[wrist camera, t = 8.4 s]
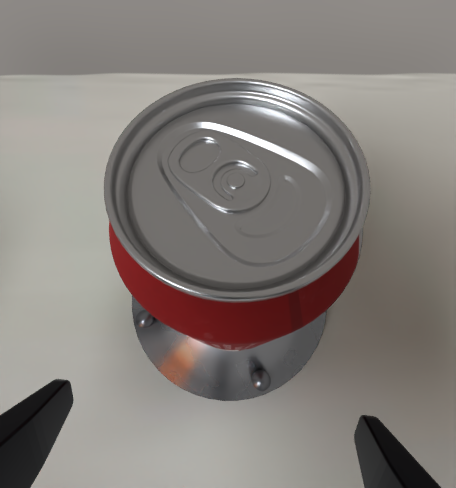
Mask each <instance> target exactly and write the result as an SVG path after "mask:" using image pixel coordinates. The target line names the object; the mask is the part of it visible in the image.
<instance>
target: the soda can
mask: <svg viewBox="0 0 456 488" xmlns="http://www.w3.org/2000/svg"><path fill="white" fill-rule="evenodd" d="M104 200H105V205H106V211H107V214H108V217H109V237H110V245H111V251H112V255H113V259H114V262H115V265H116V267H117V270H118V272H119V275H120V277H121V278H122V280H123V282H124V284H125V285H126V287H127V288H128V290H129V291H130V293H131V294H132V295H133V297H134V298H135V299H136V300H137V301H138V302H139V303H140V305H141V306H142V307H143V308H144V309H146V310H147V311H148V312H149V313H150V314H151V315H152V316H154V317H155V318H156V319H158V320H159V321H161V322H162V323H164V324H165V325H167V326H169V327H171V328H172V329H174V330H176V331H178V332H180V333H182V334H184V335H187V336H189V337H191V338H193V339H195V340H197V341H199V342H202V343H204V344H206V345H208V346H210V347H213V348H216V349H219V350H224V351H243V350H248V349H251V348H254V347H257V346H259V345H262V344H264V343H267V342H270V341H272V340H275V339H277V338H280V337H283V336H285V335H288V334H290V333H292V332H294V331H296V330H298V329H300V328H302V327H304V326H306V325H307V324H309V323H310V322H312V321H314V320H315V319H316V318H317V317H319V316H320V315H321V314H323V313H324V312H325V311H326V310H327V309H328V308H329V307H330V306H331V305H332V304H333V303H334V302H335V301H336V300H337V298H338V297H339V296H340V295H341V293H342V292H343V291H344V289H345V287H346V286H347V284H348V283H349V281H350V279H351V277H352V275H353V273H354V271H355V268H356V265H357V262H358V259H359V256H360V251H361V246H362V236H363V224H364V222H365V219H366V216H367V212H368V208H369V202H370V177H369V171H368V167H367V163H366V160H365V157H364V155H363V152H362V150H361V148H360V146H359V144H358V142H357V140H356V139H355V137H354V136H353V134H352V133H351V131H350V130H349V129H348V128H347V126H346V125H345V124H344V123H343V122H342V121H341V120H340V119H339V118H338V117H337V116H336V115H335V114H334V113H333V112H332V111H330V110H329V109H328V108H327V107H325V106H324V105H323V104H321V103H320V102H318V101H316V100H315V99H313V98H311V97H310V96H308V95H306V94H304V93H302V92H299V91H297V90H295V89H292V88H289V87H286V86H283V85H280V84H276V83H272V82H268V81H262V80H255V79H241V78H232V79H218V80H211V81H205V82H201V83H197V84H193V85H190V86H187V87H184V88H181V89H179V90H176V91H174V92H172V93H170V94H168V95H166V96H164V97H162V98H160V99H159V100H157V101H155V102H154V103H152V104H151V105H149V106H148V107H147V108H145V109H144V110H143V111H142V112H141V113H139V114H138V115H137V116H136V117H135V118H134V119H133V120H132V121H131V122H130V124H129V125H128V126H127V127H126V128H125V129H124V131H123V132H122V134H121V135H120V137H119V138H118V140H117V142H116V144H115V145H114V147H113V150H112V152H111V154H110V157H109V160H108V163H107V166H106V172H105V177H104Z"/></svg>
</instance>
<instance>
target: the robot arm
mask: <svg viewBox="0 0 456 488" xmlns="http://www.w3.org/2000/svg"><path fill="white" fill-rule="evenodd" d="M72 404H73V394H72V389H71V384H70V382H69V381H68V380H62V379H56V380H53V381H52V382H50V383H49V384H47V385H46V386H44V387H43V388H41V389H39V390H38V391H36V392H35V393H33V394H32V395H30V396H29V397H27V398H26V399H24V400H23V401H21V402H20V403H18V404H17V405H15V406H14V407H12V408H11V409H9V410H8V411H6V412H4V413H3V414H1V415H0V488H30V487H31V485H32V484H33V482H34V480H35V479H36V477H37V475H38V474H39V472H40V470H41V468H42V466H43V465H44V463H45V461H46V459H47V457H48V455H49V453H50V451H51V449H52V447H53V445H54V443H55V441H56V439H57V436H58V434H59V432H60V430H61V428H62V426H63V424H64V422H65V420H66V418H67V416H68V414H69V412H70V409H71V407H72ZM354 440H355V445H356V450H357V455H358V459H359V464H360V469H361V473H362V478H363V483H364V487H365V488H441V487H440V486H439V485H438V484H437V482H436V481H435V480H434V479H433V478H432V477H431V476H430V475H429V474H428V473H427V472H426V470H425V469H424V468H423V467H422V466H421V465H420V464H419V463H418V462H417V461H416V460H415V458H414V457H413V456H412V455H411V454H410V453H409V452H408V451H407V450H406V449H405V448H404V446H403V445H402V444H401V443H400V442H399V441H398V440H397V439H396V438H395V437H394V436H393V434H392V433H391V432H390V431H389V430H388V429H387V428H386V427H385V426H384V425H383V423H382V422H381V421H380V420H379V419H378V418H376V417H374V416H367V415H362V416H361V417H360V419H359V422H358V424H357V427H356V430H355V434H354Z"/></svg>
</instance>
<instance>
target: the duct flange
mask: <svg viewBox="0 0 456 488" xmlns="http://www.w3.org/2000/svg"><path fill="white" fill-rule="evenodd" d="M132 312H133V319H134V325H135V329H136V332H137V336H138V338H139V340H140V343H141V345H142V347H143V349H144V351H145V353H146V354H147V356H148V357H149V359H150V361H151V362H152V363H153V364H154V365H155V367H156V368H157V369H158V370H159V371H160V372H161V373H162V374H163V375H164V376H165V377H166V378H168V379H169V380H170V381H171V382H173V383H174V384H176V385H177V386H179V387H180V388H182V389H184V390H186V391H188V392H190V393H193V394H195V395H198V396H202V397H205V398H208V399H215V400H222V401H237V400H244V399H250V398H254V397H257V396H260V395H264V394H266V393H268V392H270V391H272V390H275V389H277V388H279V387H280V386H282V385H283V384H284V383H286V382H287V381H289V380H290V379H291V378H292V377H294V376H295V375H296V374H297V373H298V372H299V371H300V370H301V369H302V368H303V366H304V365H305V364H306V363H307V361H308V360H309V359H310V357H311V356H312V354H313V352H314V350H315V349H316V347H317V345H318V342H319V340H320V337H321V335H322V332H323V328H324V324H325V318H326V311H325V312H324V313H323V314H321V315H320V316H319V317H317V318H316V319H315V320H314V321H312V322H310V323H309V324H307V325H306V326H304V327H302V328H300V329H298V330H296V331H294V332H292V333H290V334H288V335H285V336H283V337H280V338H277V339H275V340H272V341H270V342H267V343H264V344H262V345H259V346H257V347H254V348H251V349H248V350H243V351H224V350H219V349H216V348H213V347H210V346H208V345H206V344H204V343H202V342H199V341H197V340H195V339H193V338H191V337H189V336H187V335H184V334H182V333H180V332H178V331H176V330H174V329H172V328H171V327H169V326H167V325H165V324H164V323H162V322H161V321H159V320H158V319H156V318H155V317H154V316H152V315H151V314H150V313H149V312H148V311H147V310H146V309H144V308H143V307H142V306H141V305H140V303H139V302H138V301H137V300H136V299H135V298H134V297H133V295H132Z"/></svg>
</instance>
